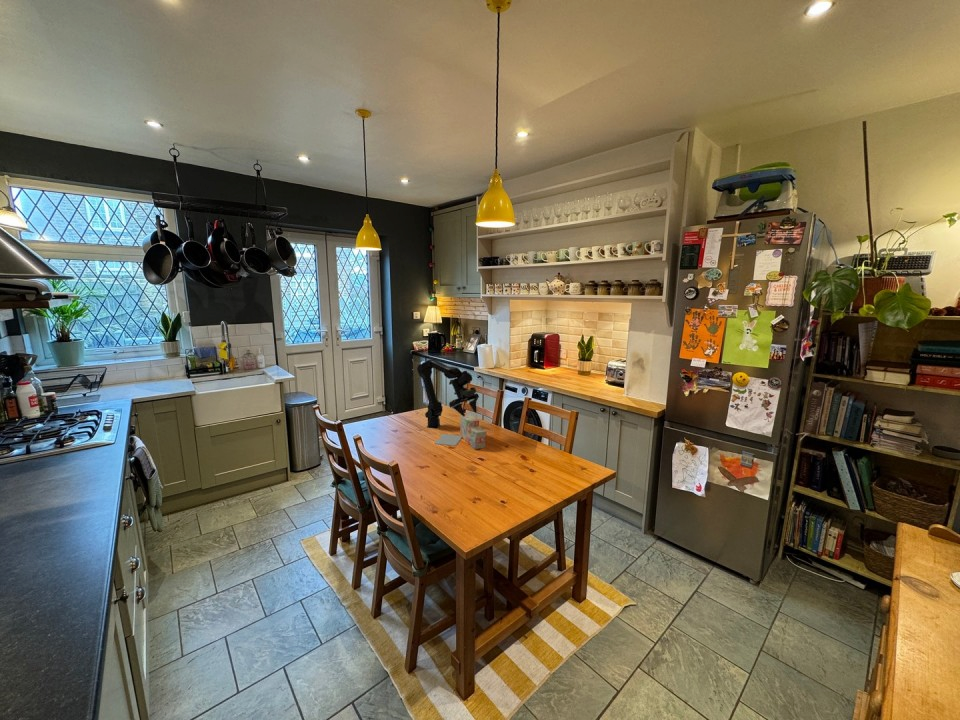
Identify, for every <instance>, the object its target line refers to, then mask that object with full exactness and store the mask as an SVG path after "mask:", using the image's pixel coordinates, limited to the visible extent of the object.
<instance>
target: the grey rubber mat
mask: <svg viewBox="0 0 960 720" xmlns="http://www.w3.org/2000/svg"><path fill="white" fill-rule="evenodd" d="M461 440H462V437H461V436H460V434H459V435H458V434H450V433H449V434H448V433H442V434H441V435H440V436H439V438H438V439H437V440H436V441H435V442H434V444H435V445H441V444H442V445H443V446H452V447H454V446H455V447H456V446H457V445H458V444H459V442H460V441H461Z"/></svg>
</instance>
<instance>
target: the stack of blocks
mask: <svg viewBox="0 0 960 720" xmlns="http://www.w3.org/2000/svg"><path fill="white" fill-rule="evenodd" d="M459 415H460V421H459V423H460V424H459V435H460V436H461V437H462V438H463V440H464V441H465V442H467V443H468V444H469V445H470V446H471V447H472V448H473V449H475V450H477V449H484V448H486V438H487V431H486V430H485V429H484V428H482V426H480V420H479V419H478V418H476V417H475V416H473V414H471V413H467V414H465V417H463V416H462V415H461V414H459ZM462 438H461V439H462Z"/></svg>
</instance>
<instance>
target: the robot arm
mask: <svg viewBox="0 0 960 720" xmlns="http://www.w3.org/2000/svg"><path fill="white" fill-rule="evenodd" d="M416 369H417V373H418V376H419V377H420V378H421V380H422V381H423V385H424V388H425V392H426V396H427V399H428V404H427V411H426V412H425V413H424V416H425V418H427V425H426V428H429V429H437V428H439V427H440V425H441V418H440V416H442V413H443V408H444V407H443V405H442V401H439V400H438V398H437V395H436V391H435V388H434V384H433V381H432V374H433V371H432V370H433V369H435V370H437V371H439V372H441V373H442V374H443V375H444V376H445V377H446V378H447V379H448V380H449V382H448V383H449V384H448V385H452V388H453V390H454V393H453V394H454V395H456V397H457V398H455V399H453V400H451V401H449V403H448V406H449V408H450V409H454V410H455V411H456V412H457V413H459V415H462V416H463V417H465V415H466V414H465V412H464V409H463V407H462V406H463V403H465V402H467V401H468V404H469V406H470V407H471V409H472V411H473V412H474V413H477V401H478V400H479V398H480V396H479V393H478V392H477V389H476V387H470V389H468V388H467V387H465V386H466V385H468V384H469V383H471V382H472V381H473V375H472V374H471V373H470V372H468V370H463V371H461V370H460V369H459V368H458V367H456V366H450V365H447V364H445V363H443V362H441V361H439V360H437V359H436V358H430V359H428V360H426V361H424V362H423V363H421V364H418V365H417V367H416Z"/></svg>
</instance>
